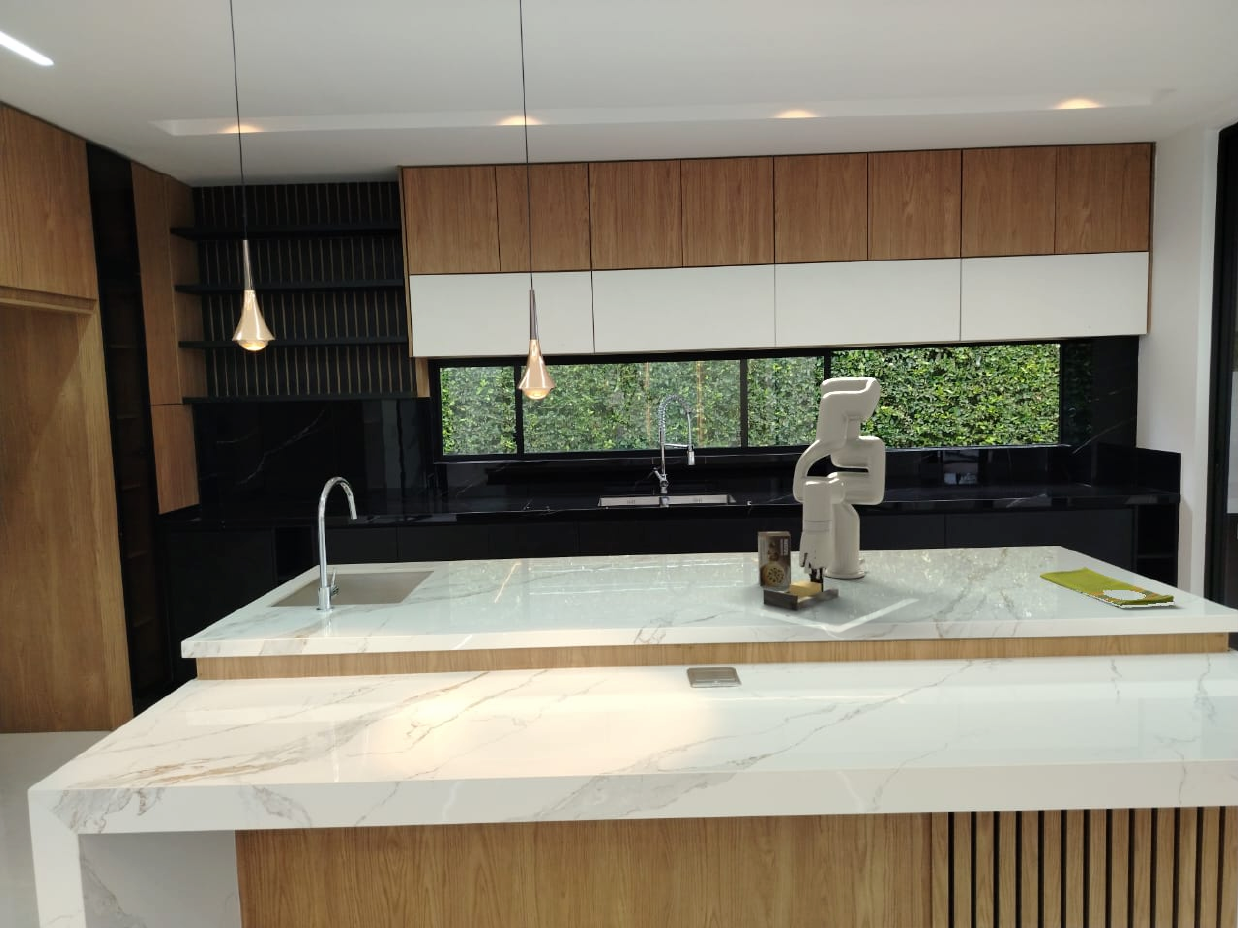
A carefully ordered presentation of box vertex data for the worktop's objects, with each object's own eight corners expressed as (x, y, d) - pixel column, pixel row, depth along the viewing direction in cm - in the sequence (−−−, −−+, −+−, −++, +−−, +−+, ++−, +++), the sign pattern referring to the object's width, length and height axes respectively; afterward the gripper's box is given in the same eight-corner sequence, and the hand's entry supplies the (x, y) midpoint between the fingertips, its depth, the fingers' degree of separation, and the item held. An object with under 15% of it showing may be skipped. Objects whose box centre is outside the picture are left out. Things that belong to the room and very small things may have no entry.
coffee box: (789, 585, 253) (789, 531, 251) (791, 590, 246) (791, 535, 245) (757, 585, 254) (757, 531, 252) (759, 590, 247) (759, 535, 245)
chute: (800, 592, 243) (800, 574, 243) (844, 601, 233) (844, 582, 233) (757, 607, 230) (757, 588, 229) (802, 617, 220) (802, 597, 219)
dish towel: (1121, 611, 221) (1121, 599, 220) (1038, 579, 256) (1038, 568, 256) (1176, 608, 222) (1177, 595, 222) (1086, 576, 258) (1086, 565, 257)
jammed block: (802, 594, 237) (802, 580, 237) (821, 598, 233) (821, 583, 232) (789, 598, 233) (789, 584, 232) (808, 602, 228) (808, 587, 228)
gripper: (820, 521, 242) (820, 584, 244) (789, 528, 232) (789, 594, 234) (843, 523, 237) (843, 589, 239) (813, 531, 227) (813, 599, 228)
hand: (816, 591), depth 236 cm, fingers closed
